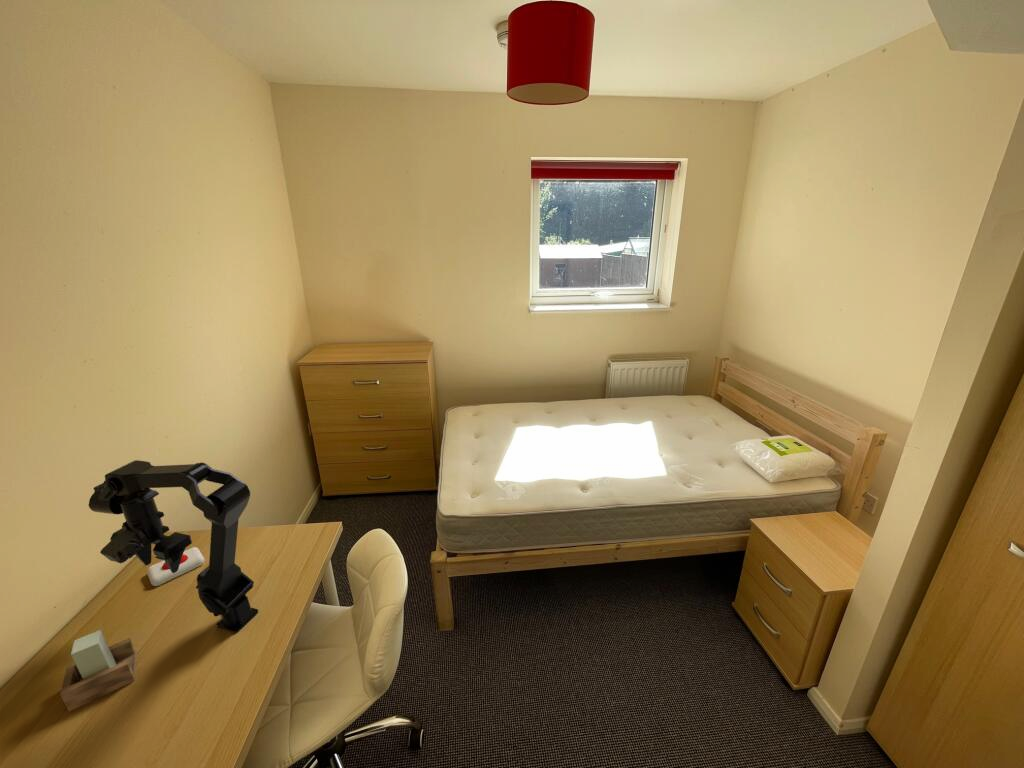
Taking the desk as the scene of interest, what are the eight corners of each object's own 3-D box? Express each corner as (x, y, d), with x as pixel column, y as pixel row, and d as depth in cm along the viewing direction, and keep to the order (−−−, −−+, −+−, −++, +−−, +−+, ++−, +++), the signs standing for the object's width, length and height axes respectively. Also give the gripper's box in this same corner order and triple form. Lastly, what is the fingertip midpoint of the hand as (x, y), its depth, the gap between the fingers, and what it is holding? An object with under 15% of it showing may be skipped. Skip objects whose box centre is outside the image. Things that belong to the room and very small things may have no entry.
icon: (193, 537, 127) (202, 552, 121) (197, 549, 129) (206, 564, 122) (141, 560, 119) (148, 577, 112) (146, 572, 120) (153, 590, 114)
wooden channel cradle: (136, 653, 96) (129, 637, 94) (134, 680, 90) (127, 664, 88) (75, 680, 90) (67, 664, 88) (69, 711, 84) (60, 694, 82)
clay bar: (116, 664, 92) (100, 629, 89) (114, 678, 89) (98, 643, 86) (91, 675, 90) (74, 640, 86) (88, 690, 87) (70, 654, 83)
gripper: (72, 528, 93) (96, 584, 98) (131, 544, 88) (153, 602, 93) (128, 500, 103) (148, 552, 108) (184, 512, 98) (202, 566, 103)
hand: (161, 568), depth 103 cm, fingers open, 9 cm apart
